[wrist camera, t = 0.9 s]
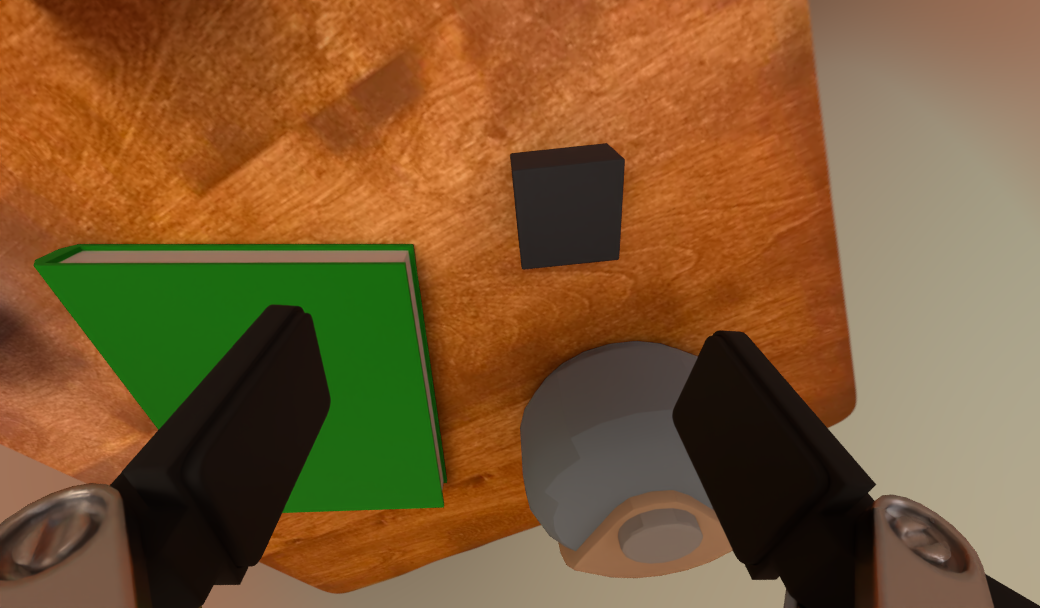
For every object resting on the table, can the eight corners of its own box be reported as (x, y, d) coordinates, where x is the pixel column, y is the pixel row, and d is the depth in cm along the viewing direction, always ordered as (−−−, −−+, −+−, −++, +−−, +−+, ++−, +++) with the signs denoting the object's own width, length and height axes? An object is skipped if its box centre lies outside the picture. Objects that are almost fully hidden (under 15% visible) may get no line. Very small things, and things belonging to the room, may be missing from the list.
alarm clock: (543, 486, 44) (556, 617, 34) (496, 358, 33) (495, 495, 23) (714, 455, 42) (782, 584, 32) (725, 309, 31) (833, 435, 21)
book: (413, 244, 27) (404, 264, 24) (447, 480, 42) (443, 507, 40) (69, 244, 26) (23, 265, 23) (234, 486, 41) (217, 515, 39)
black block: (607, 142, 24) (625, 158, 20) (604, 233, 27) (619, 260, 24) (510, 153, 24) (512, 170, 20) (518, 242, 27) (521, 270, 24)
